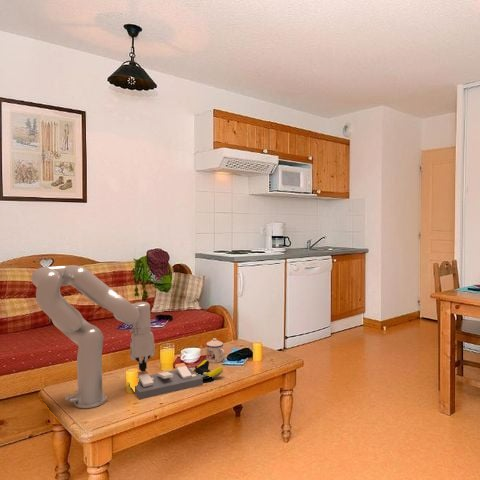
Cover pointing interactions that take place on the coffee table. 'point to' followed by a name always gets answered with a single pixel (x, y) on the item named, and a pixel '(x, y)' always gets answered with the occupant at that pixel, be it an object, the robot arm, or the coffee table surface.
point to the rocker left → (145, 378)
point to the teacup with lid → (215, 351)
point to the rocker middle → (164, 374)
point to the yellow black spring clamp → (207, 370)
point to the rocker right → (183, 371)
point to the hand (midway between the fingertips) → (142, 370)
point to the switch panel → (167, 384)
